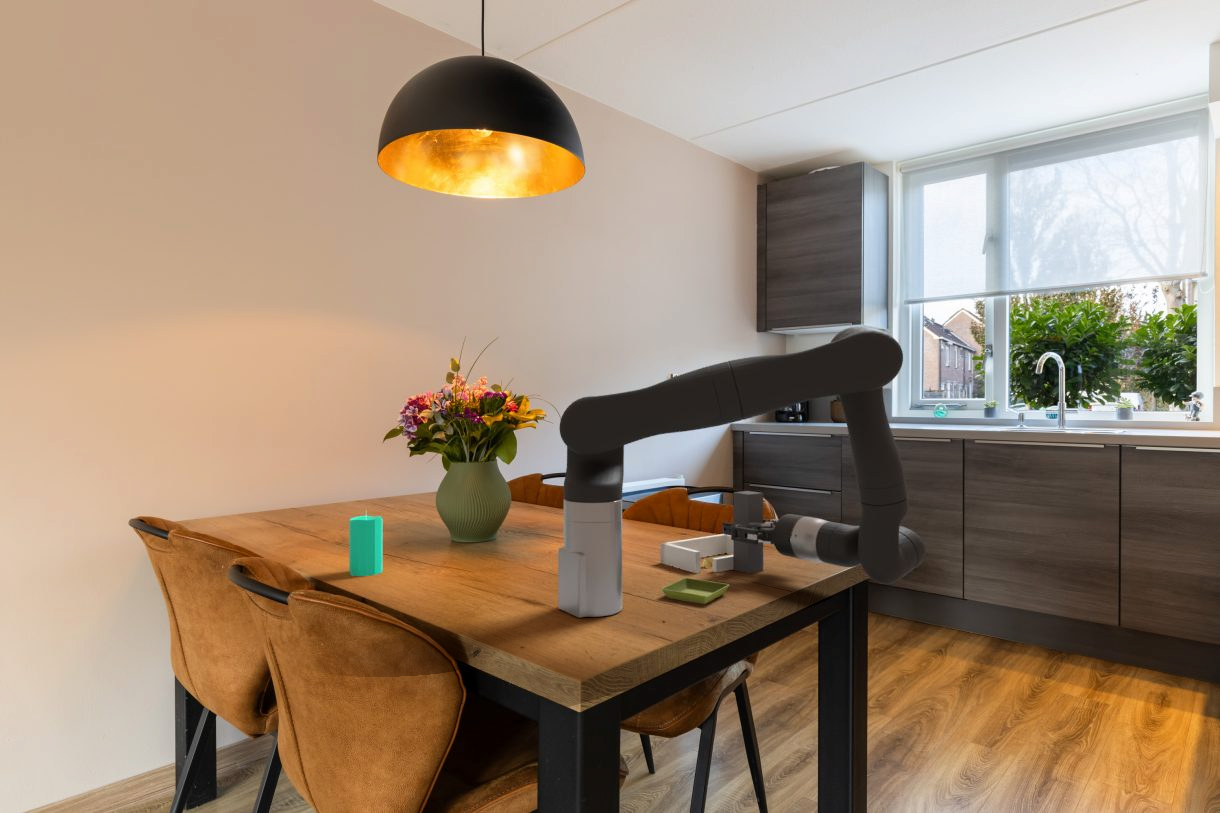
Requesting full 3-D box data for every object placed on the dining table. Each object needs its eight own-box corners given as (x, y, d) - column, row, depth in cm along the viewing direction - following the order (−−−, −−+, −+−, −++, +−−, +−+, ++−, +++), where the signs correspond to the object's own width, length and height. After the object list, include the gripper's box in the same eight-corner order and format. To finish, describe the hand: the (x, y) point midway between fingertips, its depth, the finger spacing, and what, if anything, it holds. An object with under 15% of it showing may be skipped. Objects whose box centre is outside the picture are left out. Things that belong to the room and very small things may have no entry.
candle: (372, 576, 129) (372, 512, 129) (343, 575, 130) (343, 511, 130) (388, 569, 135) (388, 507, 135) (359, 568, 136) (359, 507, 136)
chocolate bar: (700, 568, 137) (700, 557, 137) (744, 561, 144) (744, 550, 144) (708, 571, 135) (708, 559, 135) (753, 563, 141) (753, 552, 141)
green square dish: (707, 609, 109) (707, 596, 109) (659, 600, 114) (659, 588, 114) (730, 596, 117) (730, 584, 117) (684, 589, 121) (684, 577, 121)
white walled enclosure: (695, 573, 131) (695, 552, 131) (660, 563, 140) (660, 543, 140) (762, 560, 142) (762, 541, 142) (725, 551, 150) (725, 533, 150)
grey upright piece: (731, 576, 129) (731, 496, 129) (712, 571, 133) (712, 493, 133) (779, 567, 136) (779, 491, 136) (760, 562, 140) (760, 488, 140)
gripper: (831, 513, 126) (763, 503, 139) (779, 520, 117) (712, 509, 130) (832, 554, 126) (763, 540, 139) (779, 565, 117) (712, 549, 130)
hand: (739, 525), depth 135 cm, fingers open, 8 cm apart
